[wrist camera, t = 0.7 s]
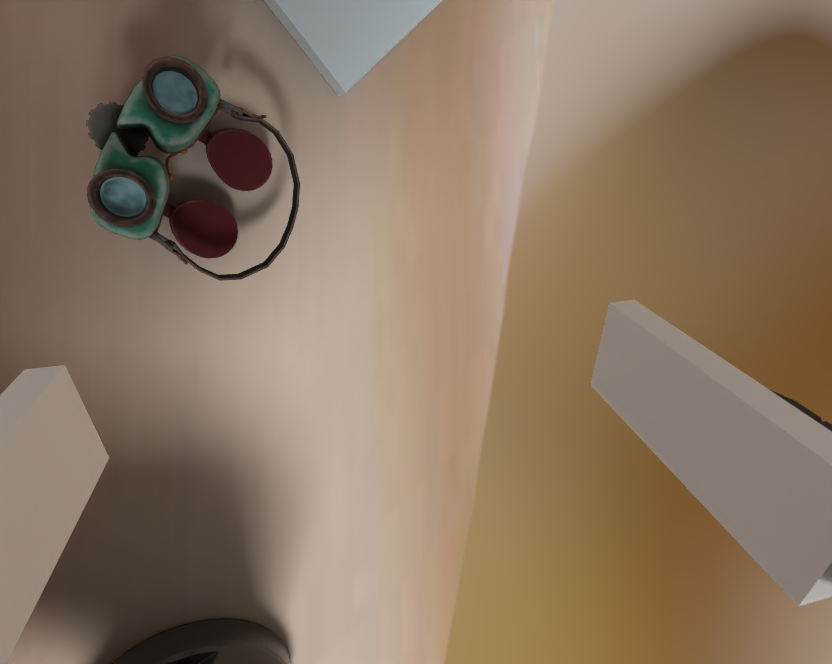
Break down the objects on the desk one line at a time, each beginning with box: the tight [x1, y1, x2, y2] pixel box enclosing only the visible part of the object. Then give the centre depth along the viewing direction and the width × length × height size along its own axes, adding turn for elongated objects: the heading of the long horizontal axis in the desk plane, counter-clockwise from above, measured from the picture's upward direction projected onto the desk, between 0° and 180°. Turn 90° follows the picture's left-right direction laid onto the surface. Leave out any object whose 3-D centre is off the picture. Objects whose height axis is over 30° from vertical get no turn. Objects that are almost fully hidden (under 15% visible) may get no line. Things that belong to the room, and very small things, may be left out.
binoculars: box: [86, 56, 300, 280], centre depth 22 cm, size 9×11×10 cm
